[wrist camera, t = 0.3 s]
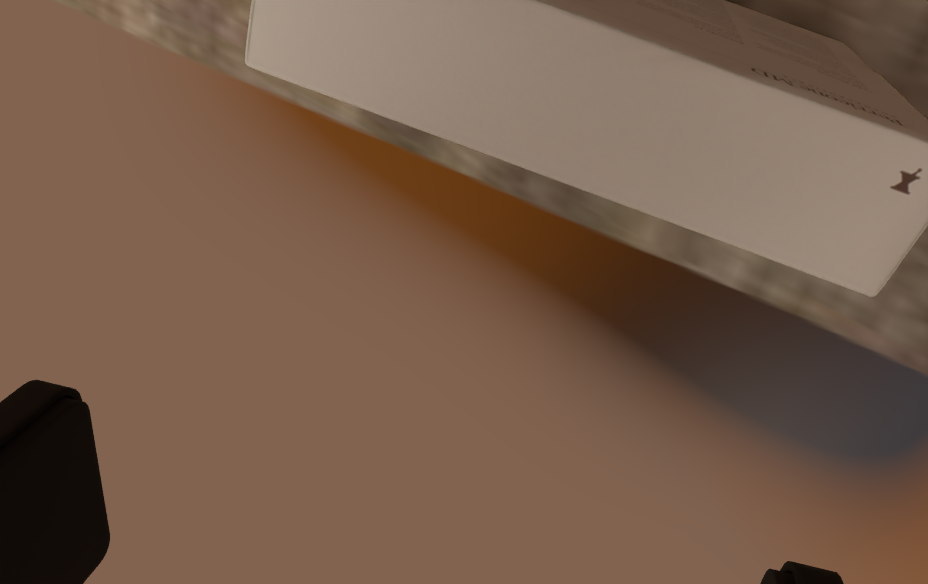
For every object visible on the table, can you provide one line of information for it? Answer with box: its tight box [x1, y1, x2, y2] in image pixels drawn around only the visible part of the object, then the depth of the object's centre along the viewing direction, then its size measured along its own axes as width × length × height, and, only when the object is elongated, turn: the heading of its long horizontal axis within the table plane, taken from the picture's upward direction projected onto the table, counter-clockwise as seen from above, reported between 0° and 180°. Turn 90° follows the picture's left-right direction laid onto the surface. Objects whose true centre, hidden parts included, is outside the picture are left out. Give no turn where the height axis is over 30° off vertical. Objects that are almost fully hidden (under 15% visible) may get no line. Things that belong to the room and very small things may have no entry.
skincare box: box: [245, 0, 928, 297], centre depth 28 cm, size 21×6×16 cm, turn 73°
